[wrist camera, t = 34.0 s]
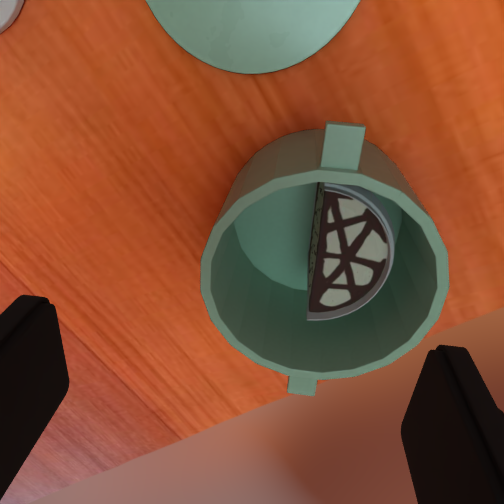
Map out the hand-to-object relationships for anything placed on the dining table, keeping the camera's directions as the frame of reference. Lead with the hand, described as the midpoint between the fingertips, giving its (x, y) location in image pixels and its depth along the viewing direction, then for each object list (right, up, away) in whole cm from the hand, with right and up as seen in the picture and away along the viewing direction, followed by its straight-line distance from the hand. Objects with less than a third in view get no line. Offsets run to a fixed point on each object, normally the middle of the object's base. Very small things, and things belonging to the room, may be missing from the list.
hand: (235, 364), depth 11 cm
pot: (+7, +6, +31) cm, 32 cm away
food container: (+9, +7, +30) cm, 32 cm away
